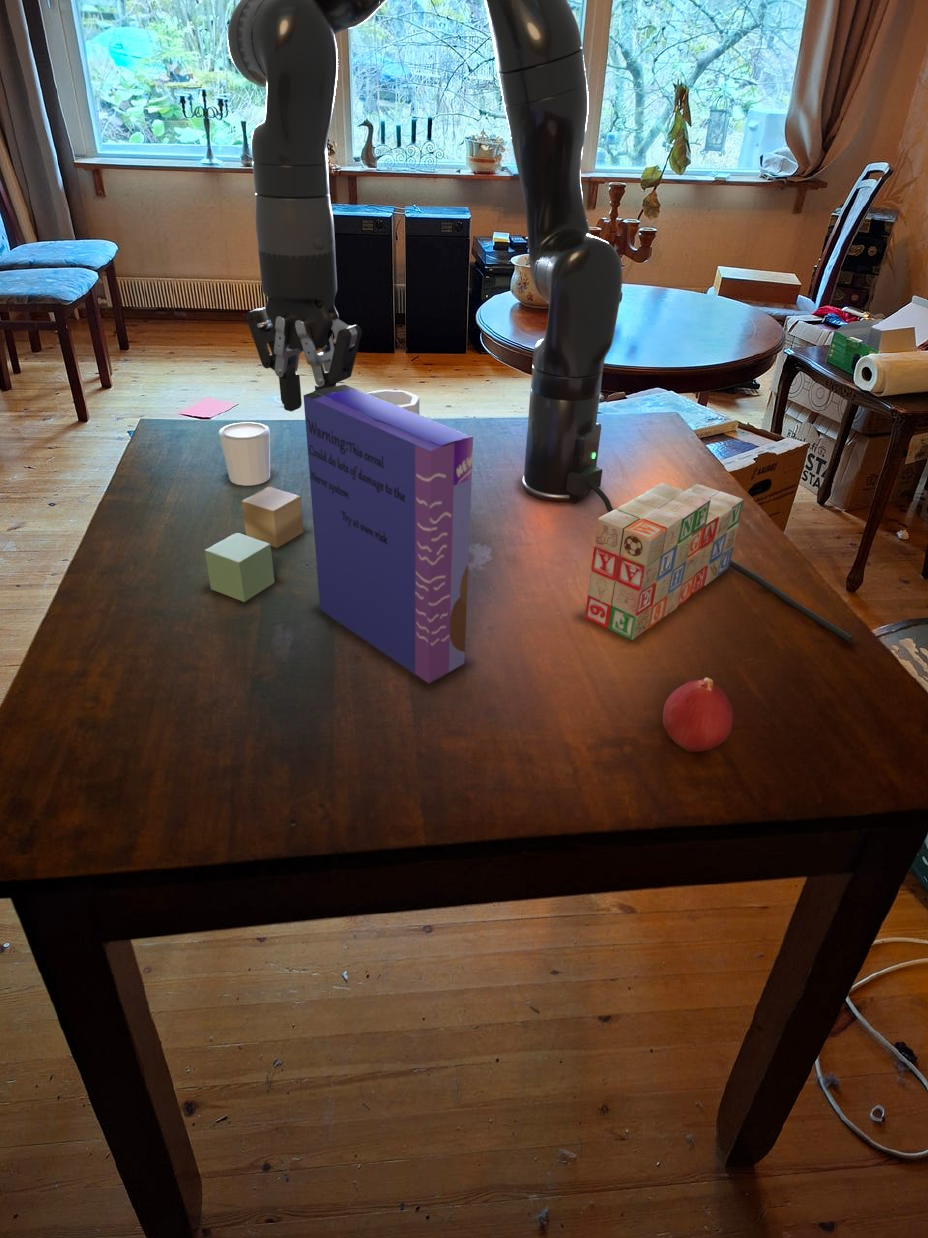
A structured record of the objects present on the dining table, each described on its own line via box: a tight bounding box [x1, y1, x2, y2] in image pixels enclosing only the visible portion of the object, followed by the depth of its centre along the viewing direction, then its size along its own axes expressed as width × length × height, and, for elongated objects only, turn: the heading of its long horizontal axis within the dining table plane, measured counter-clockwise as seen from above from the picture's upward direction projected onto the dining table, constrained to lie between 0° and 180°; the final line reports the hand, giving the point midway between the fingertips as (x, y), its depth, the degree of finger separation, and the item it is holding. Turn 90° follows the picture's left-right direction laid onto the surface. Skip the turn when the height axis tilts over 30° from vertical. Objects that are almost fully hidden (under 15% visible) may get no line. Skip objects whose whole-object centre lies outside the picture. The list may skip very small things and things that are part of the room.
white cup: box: [218, 421, 271, 487], centre depth 116 cm, size 7×7×7 cm
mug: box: [365, 389, 420, 415], centre depth 119 cm, size 12×9×10 cm
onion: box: [662, 677, 734, 753], centre depth 71 cm, size 6×6×8 cm
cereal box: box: [303, 384, 474, 686], centre depth 79 cm, size 17×5×24 cm, turn 44°
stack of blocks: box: [584, 482, 745, 641], centre depth 92 cm, size 21×6×12 cm, turn 138°
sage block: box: [204, 532, 275, 603], centre depth 92 cm, size 5×5×5 cm
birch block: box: [241, 486, 304, 549], centre depth 102 cm, size 5×5×5 cm
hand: (309, 412), depth 91 cm, fingers open, 4 cm apart
